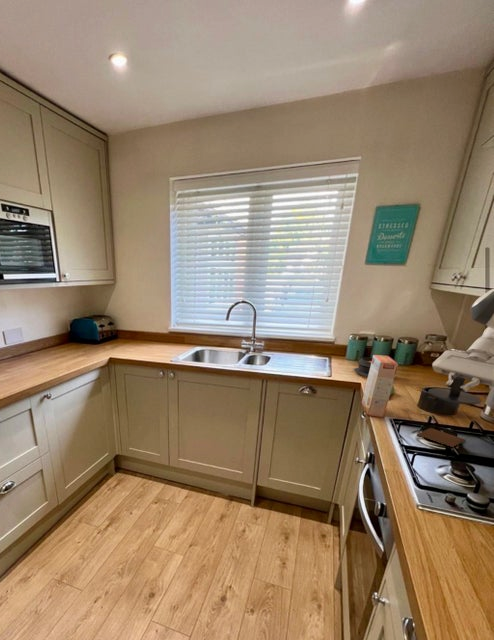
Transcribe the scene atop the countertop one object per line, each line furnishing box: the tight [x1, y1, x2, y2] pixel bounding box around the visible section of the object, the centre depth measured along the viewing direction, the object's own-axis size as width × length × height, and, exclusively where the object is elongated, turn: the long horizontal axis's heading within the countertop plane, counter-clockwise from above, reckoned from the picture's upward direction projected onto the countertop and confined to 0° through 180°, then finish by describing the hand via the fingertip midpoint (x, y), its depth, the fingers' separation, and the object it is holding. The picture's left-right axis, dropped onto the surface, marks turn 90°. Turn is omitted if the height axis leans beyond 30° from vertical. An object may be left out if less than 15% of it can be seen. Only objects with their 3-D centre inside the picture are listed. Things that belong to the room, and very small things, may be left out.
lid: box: [428, 377, 483, 405], centre depth 102 cm, size 13×13×7 cm
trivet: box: [416, 427, 466, 448], centre depth 107 cm, size 10×10×1 cm
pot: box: [416, 386, 461, 419], centre depth 128 cm, size 12×18×8 cm
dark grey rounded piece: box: [354, 356, 373, 378], centre depth 177 cm, size 25×19×8 cm
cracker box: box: [361, 354, 399, 418], centre depth 126 cm, size 14×6×21 cm, turn 161°
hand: (455, 388), depth 101 cm, fingers closed on lid, 2 cm apart
